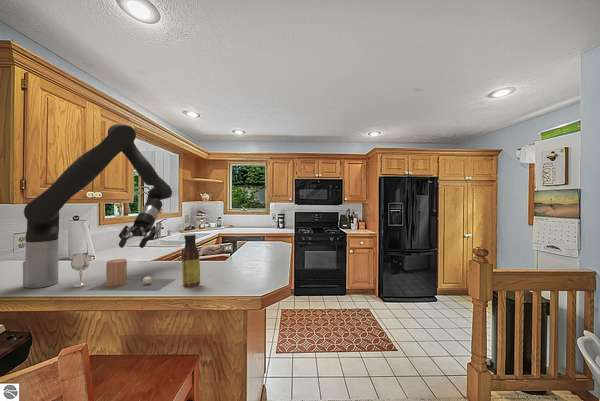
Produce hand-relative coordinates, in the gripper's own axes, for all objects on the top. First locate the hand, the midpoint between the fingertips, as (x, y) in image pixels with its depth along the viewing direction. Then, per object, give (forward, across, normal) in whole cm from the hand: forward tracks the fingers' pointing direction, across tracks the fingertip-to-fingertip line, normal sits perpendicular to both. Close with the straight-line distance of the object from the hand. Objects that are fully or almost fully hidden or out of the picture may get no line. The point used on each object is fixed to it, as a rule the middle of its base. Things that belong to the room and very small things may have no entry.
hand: (130, 246), depth 112 cm
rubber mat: (+15, +7, +4) cm, 17 cm away
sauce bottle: (+15, +29, +4) cm, 33 cm away
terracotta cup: (+15, 0, +3) cm, 15 cm away
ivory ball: (+15, +12, +3) cm, 19 cm away
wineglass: (+16, -14, +4) cm, 21 cm away
